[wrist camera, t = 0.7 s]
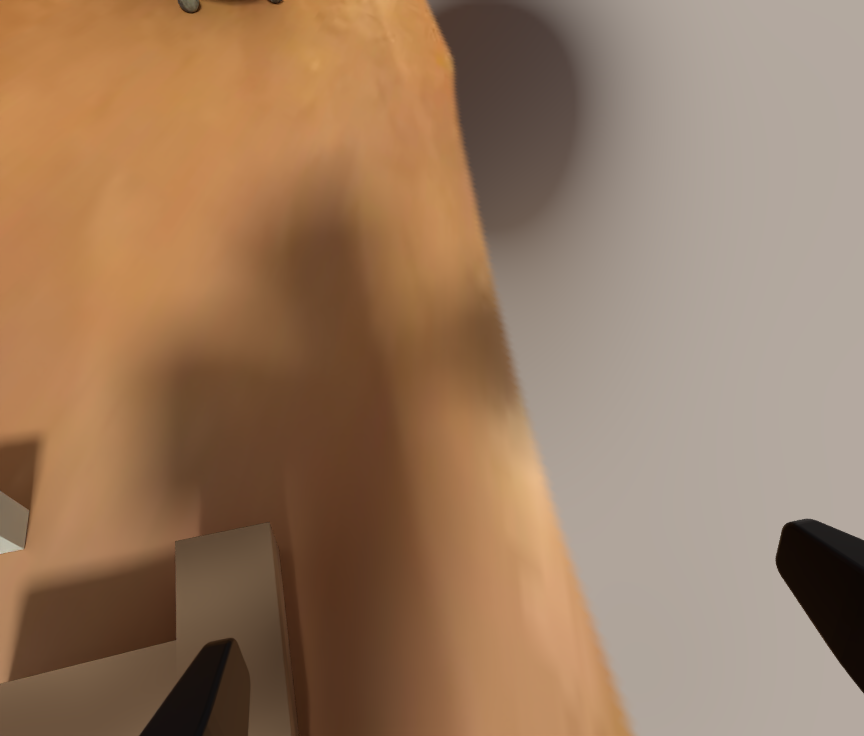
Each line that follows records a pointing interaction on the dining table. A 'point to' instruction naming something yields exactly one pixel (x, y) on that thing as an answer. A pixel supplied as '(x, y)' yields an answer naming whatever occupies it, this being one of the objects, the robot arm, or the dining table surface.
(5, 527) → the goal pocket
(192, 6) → the tabletop clock
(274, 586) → the t block
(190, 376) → the dining table surface
